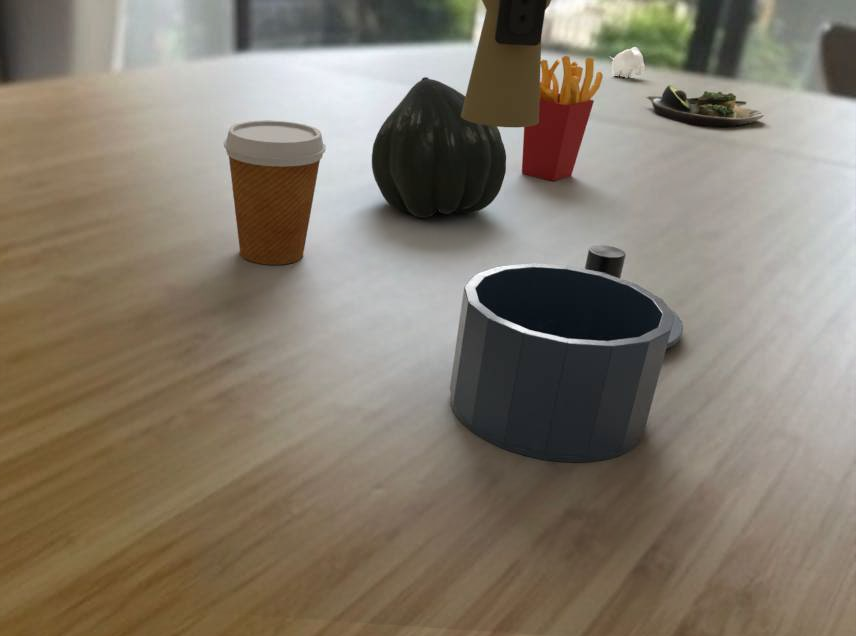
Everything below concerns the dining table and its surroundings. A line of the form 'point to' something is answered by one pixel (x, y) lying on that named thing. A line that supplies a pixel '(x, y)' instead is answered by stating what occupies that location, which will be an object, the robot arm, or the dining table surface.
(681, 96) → the salad plate
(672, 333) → the tin lid
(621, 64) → the elephant figurine
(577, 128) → the french fries
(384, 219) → the dining table surface
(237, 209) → the disposable coffee cup
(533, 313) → the tin
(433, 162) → the squash
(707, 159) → the dining table surface
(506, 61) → the cork
